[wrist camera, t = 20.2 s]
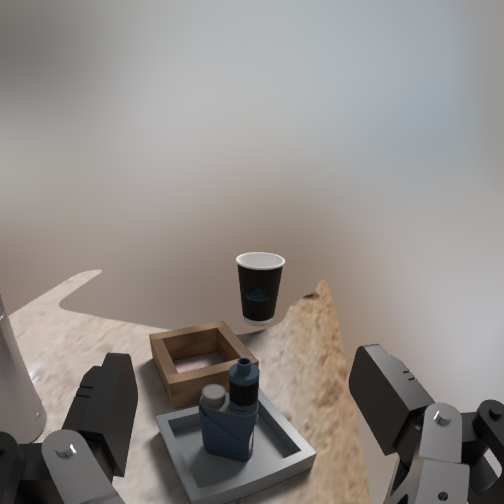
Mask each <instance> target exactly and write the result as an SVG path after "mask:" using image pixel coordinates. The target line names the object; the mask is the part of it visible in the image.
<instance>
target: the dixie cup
mask: <svg viewBox="0 0 504 504" xmlns="http://www.w3.org/2000/svg"><path fill="white" fill-rule="evenodd" d="M236 263H237V264H238V272H239V282H240V292H241V302H242V311H243V316H244V318H245V321H246V322H247V323H248V324H251V325H254V326H263V325H267V324H269V323H270V322H271V321H272V317H273V316H274V312H275V306H276V301H277V296H278V290H279V284H280V279H281V273H282V267H283V265H284V263H285V260H284V259H283V258H282V257H281V256H279V255H275V254H271V253H264V252H253V253H245V254H242V255H240V256H238V257H237V258H236Z"/></svg>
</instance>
